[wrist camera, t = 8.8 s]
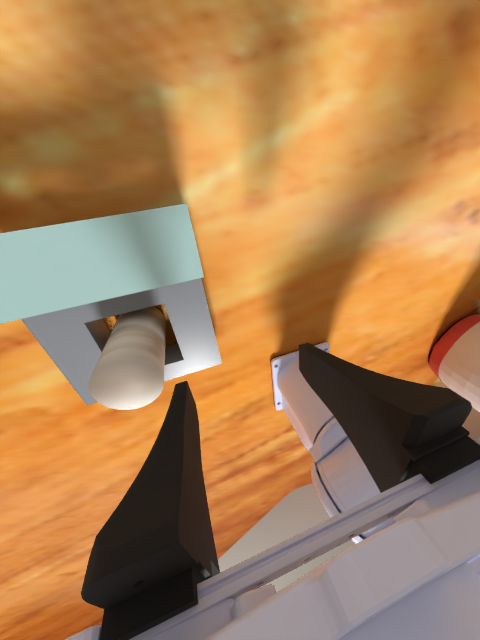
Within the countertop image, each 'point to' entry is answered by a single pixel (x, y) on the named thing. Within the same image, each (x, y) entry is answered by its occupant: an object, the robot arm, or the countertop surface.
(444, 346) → the citrus juicer
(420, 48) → the countertop surface
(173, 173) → the countertop surface
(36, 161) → the countertop surface
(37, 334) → the socket block
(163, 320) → the peg
